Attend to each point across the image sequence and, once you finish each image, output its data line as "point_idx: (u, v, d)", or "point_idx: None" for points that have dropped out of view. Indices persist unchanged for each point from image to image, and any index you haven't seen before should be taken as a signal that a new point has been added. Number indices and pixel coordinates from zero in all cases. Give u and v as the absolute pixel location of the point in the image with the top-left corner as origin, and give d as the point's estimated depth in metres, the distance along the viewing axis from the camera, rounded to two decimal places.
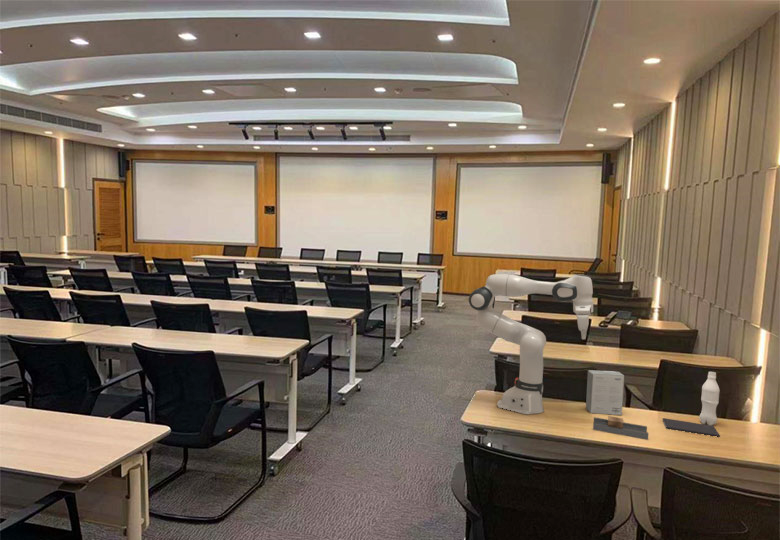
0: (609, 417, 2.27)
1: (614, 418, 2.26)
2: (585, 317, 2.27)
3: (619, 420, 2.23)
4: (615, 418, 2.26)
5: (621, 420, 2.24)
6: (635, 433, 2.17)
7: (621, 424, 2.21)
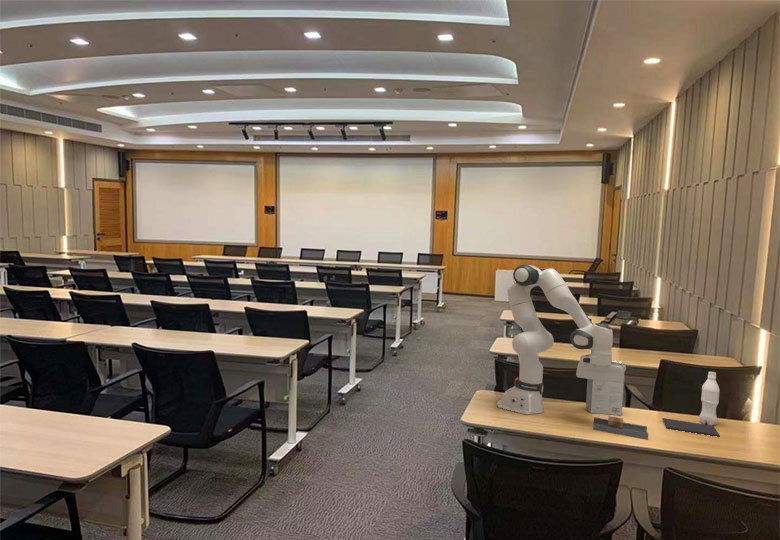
0: (609, 417, 2.27)
1: (614, 417, 2.26)
2: (578, 364, 2.29)
3: (619, 420, 2.23)
4: (615, 418, 2.26)
5: (621, 420, 2.24)
6: (635, 433, 2.17)
7: (621, 424, 2.21)
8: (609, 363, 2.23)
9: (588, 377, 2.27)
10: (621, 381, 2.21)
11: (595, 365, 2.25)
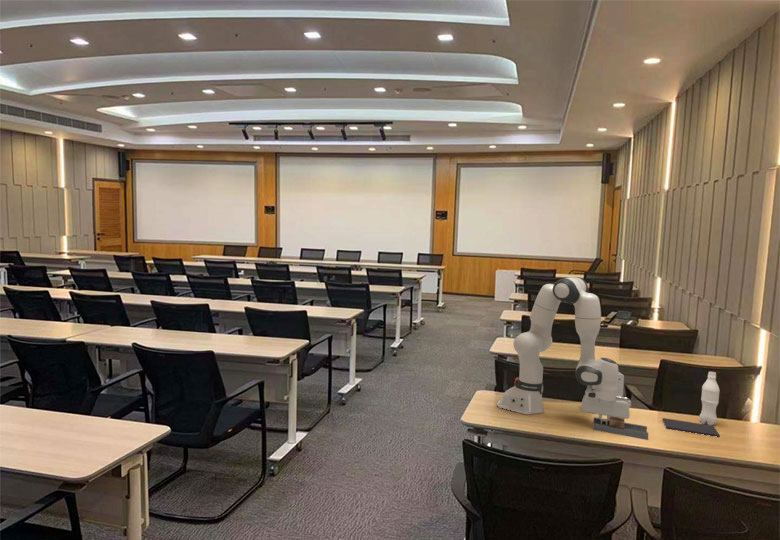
0: (610, 417, 2.27)
1: (616, 417, 2.26)
2: (583, 398, 2.29)
3: (620, 420, 2.23)
4: (616, 418, 2.26)
5: (622, 420, 2.23)
6: (635, 433, 2.17)
7: (622, 424, 2.21)
8: (614, 398, 2.22)
9: (593, 411, 2.27)
10: (626, 417, 2.21)
11: (600, 400, 2.25)
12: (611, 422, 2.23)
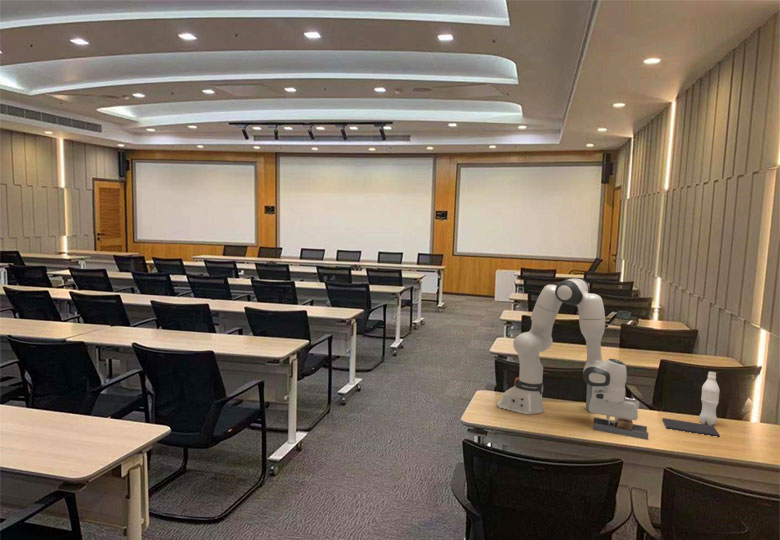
0: (618, 418, 2.25)
1: (624, 419, 2.25)
2: None
3: (628, 421, 2.22)
4: (624, 419, 2.24)
5: (631, 421, 2.22)
6: (635, 433, 2.17)
7: (631, 425, 2.20)
8: (622, 400, 2.21)
9: (601, 413, 2.25)
10: (634, 418, 2.20)
11: (608, 401, 2.24)
12: (619, 423, 2.21)
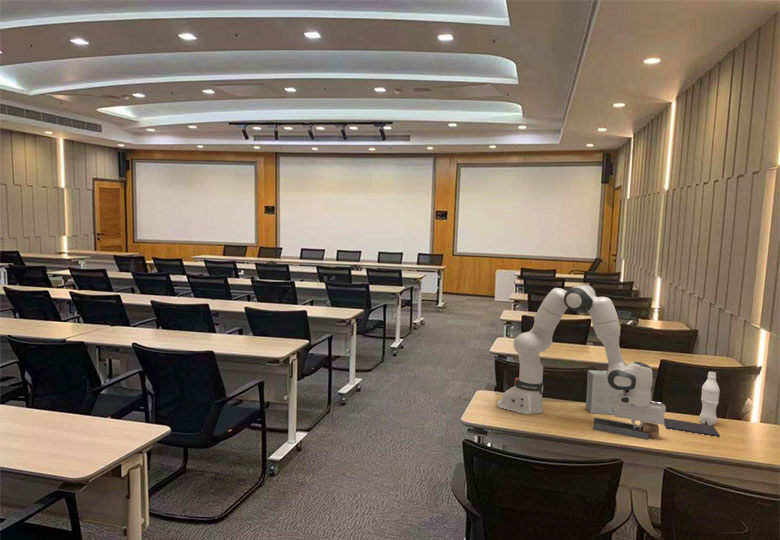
0: (644, 423, 2.21)
1: (649, 423, 2.21)
2: (615, 403, 2.23)
3: (654, 426, 2.18)
4: (650, 424, 2.20)
5: (657, 426, 2.18)
6: (635, 433, 2.17)
7: (657, 430, 2.15)
8: (648, 404, 2.17)
9: (626, 417, 2.21)
10: (661, 422, 2.16)
11: (634, 405, 2.19)
12: (645, 428, 2.17)
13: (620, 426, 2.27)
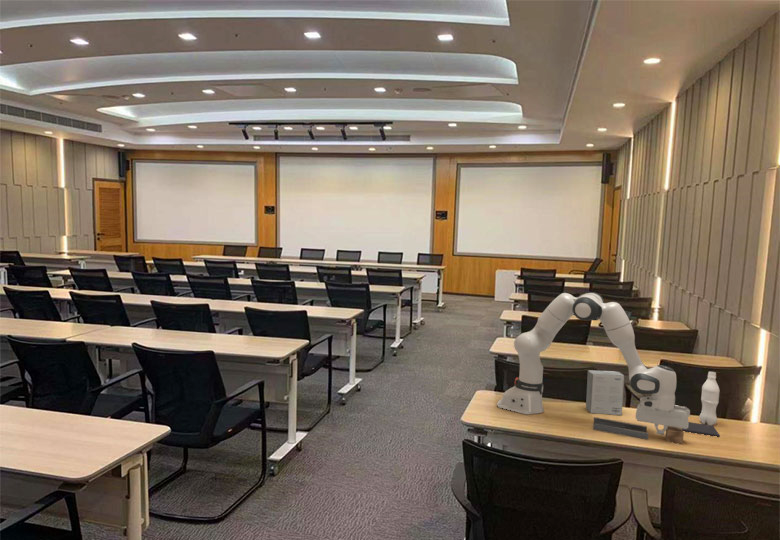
0: None
1: (673, 427, 2.17)
2: (638, 407, 2.20)
3: (679, 430, 2.14)
4: (674, 428, 2.17)
5: (681, 430, 2.14)
6: (635, 433, 2.17)
7: (681, 434, 2.12)
8: (672, 408, 2.13)
9: (649, 421, 2.18)
10: (685, 427, 2.12)
11: (657, 409, 2.16)
12: (669, 432, 2.14)
13: (620, 426, 2.27)
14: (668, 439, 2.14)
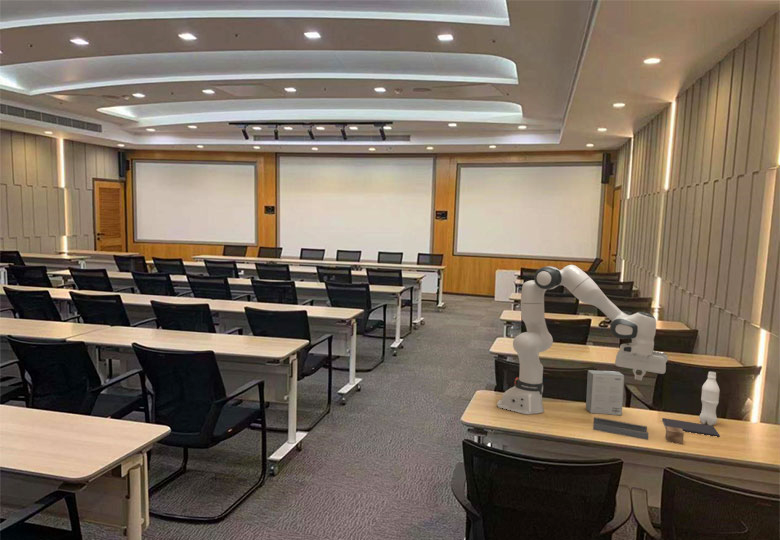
0: (667, 427, 2.17)
1: (673, 428, 2.17)
2: (617, 353, 2.24)
3: (679, 430, 2.14)
4: (674, 428, 2.17)
5: (681, 430, 2.14)
6: (635, 433, 2.17)
7: (681, 435, 2.12)
8: (651, 353, 2.18)
9: (628, 366, 2.22)
10: (662, 372, 2.17)
11: (636, 354, 2.20)
12: (669, 433, 2.14)
13: (620, 426, 2.27)
14: (668, 439, 2.14)
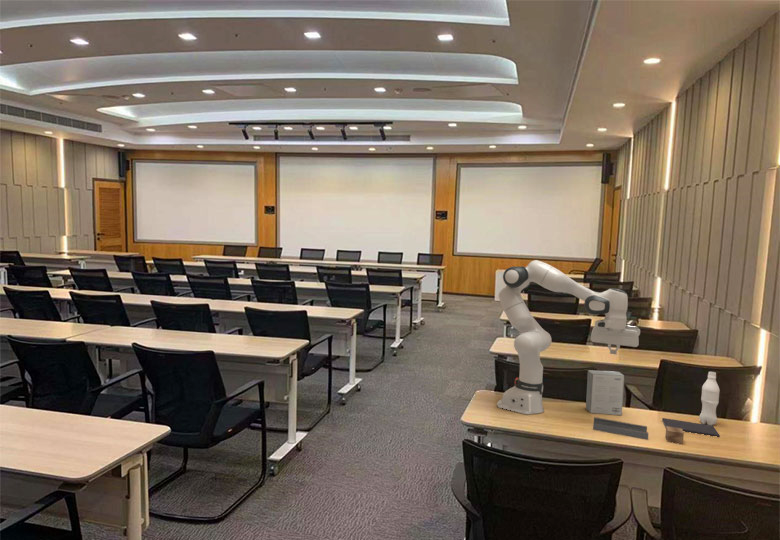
0: (667, 427, 2.17)
1: (673, 428, 2.17)
2: (592, 329, 2.31)
3: (679, 430, 2.14)
4: (674, 428, 2.17)
5: (681, 430, 2.14)
6: (635, 433, 2.17)
7: (682, 435, 2.12)
8: (624, 327, 2.25)
9: (602, 341, 2.29)
10: (635, 345, 2.24)
11: (610, 329, 2.28)
12: (669, 433, 2.14)
13: (620, 426, 2.27)
14: (668, 439, 2.14)
